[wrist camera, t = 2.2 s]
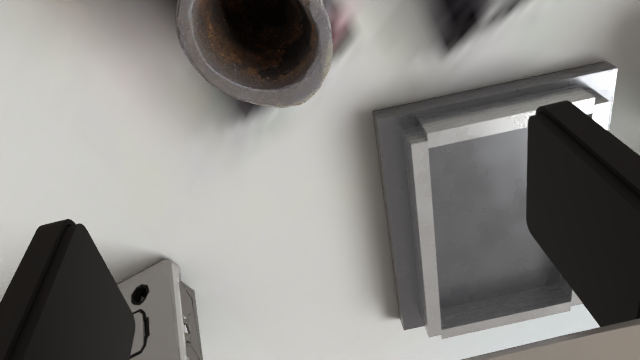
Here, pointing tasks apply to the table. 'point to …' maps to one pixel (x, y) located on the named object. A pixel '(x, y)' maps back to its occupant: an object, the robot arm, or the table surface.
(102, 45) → the table surface
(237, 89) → the pipe
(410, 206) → the cradle
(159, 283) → the electrical switch
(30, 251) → the robot arm
